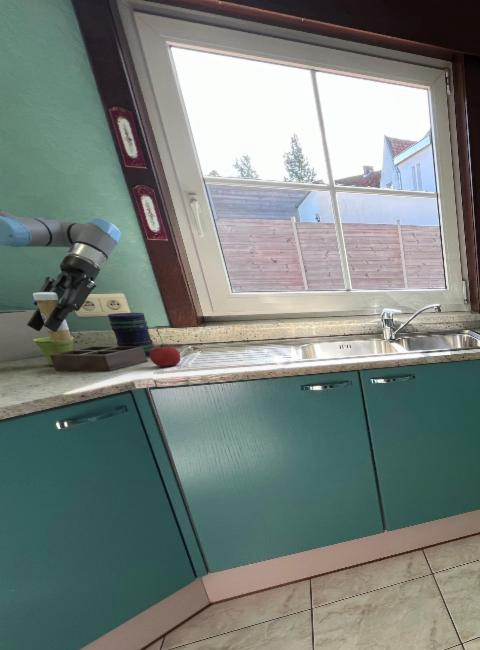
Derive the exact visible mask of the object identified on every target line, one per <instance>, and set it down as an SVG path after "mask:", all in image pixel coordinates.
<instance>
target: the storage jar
mask: <svg viewBox="0 0 480 650" xmlns="http://www.w3.org/2000/svg"><path fill="white" fill-rule="evenodd" d="M107 317H108V320H109V321H108V322H109V325H110V327H111V330H112V331H113V333H114V337H115V338H116V339H115V340H116V346H130V347H143V349H144V352H145V355H146V358H150V354H149V353H150V350H151V349H153V348H155V347H156V346H155V344H154V342H153V340H152V339H151V335H150V332H149V326H148V321H147V320H146V317H145V313H144V312H117V313H110V314H107Z"/></svg>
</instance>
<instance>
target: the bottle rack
mask: <svg viewBox="0 0 480 650" xmlns="http://www.w3.org/2000/svg"><path fill="white" fill-rule="evenodd" d="M50 357H51V360H52V362H53V365H54V366H53V365H52V366H53V368H54V371H55V372H112V371H115V370H119V369H123V368H126V367H131V366H134V365H138V364H142V363H145V362H148V357H146V355H145V352H144V349H143V347H130V346H118V345H115V346H110V345H92V346H91V345H90V346H87V347H81V348H76V349H74V350H72V351H67V352H62V353H57V354H52V355H50Z"/></svg>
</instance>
